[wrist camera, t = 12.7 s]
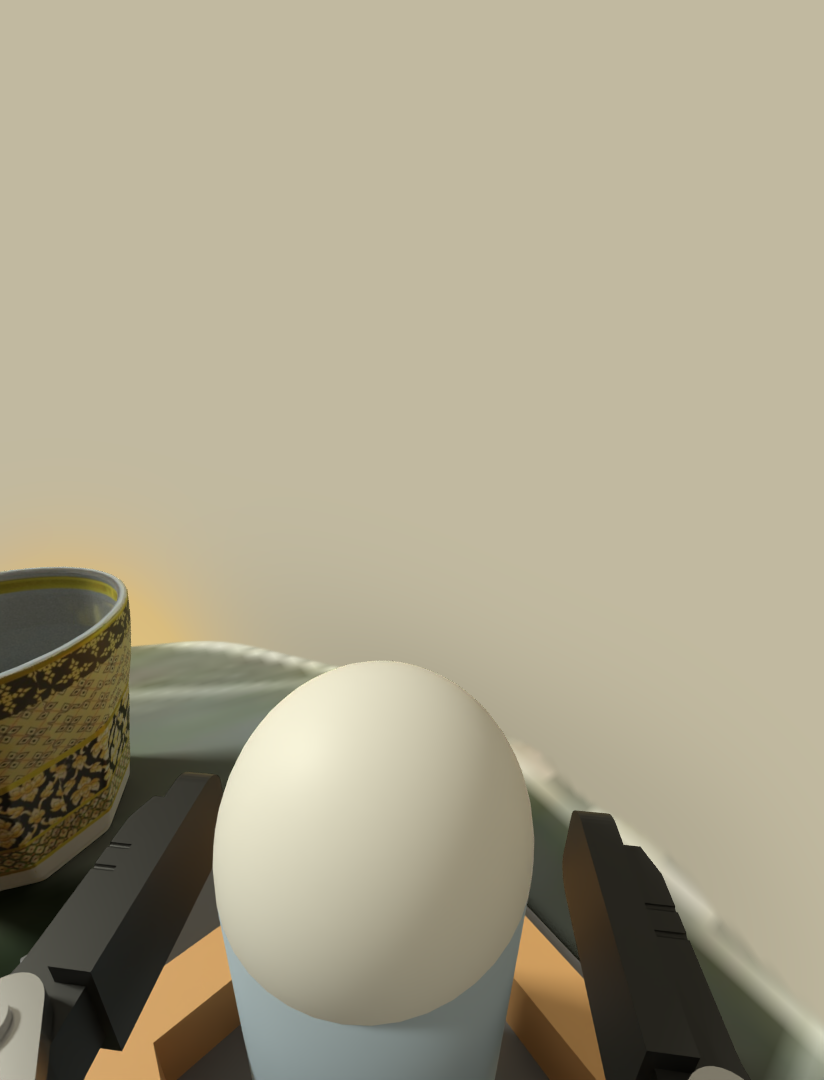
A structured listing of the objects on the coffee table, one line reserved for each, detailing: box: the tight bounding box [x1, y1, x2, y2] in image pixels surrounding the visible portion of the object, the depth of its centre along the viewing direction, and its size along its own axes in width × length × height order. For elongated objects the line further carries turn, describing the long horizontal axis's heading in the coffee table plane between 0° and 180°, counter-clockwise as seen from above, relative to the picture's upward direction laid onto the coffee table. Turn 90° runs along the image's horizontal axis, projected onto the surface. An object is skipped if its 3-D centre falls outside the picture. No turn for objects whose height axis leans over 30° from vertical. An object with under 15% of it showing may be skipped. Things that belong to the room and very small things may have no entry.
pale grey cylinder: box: [213, 661, 534, 1080], centre depth 9 cm, size 5×5×14 cm
